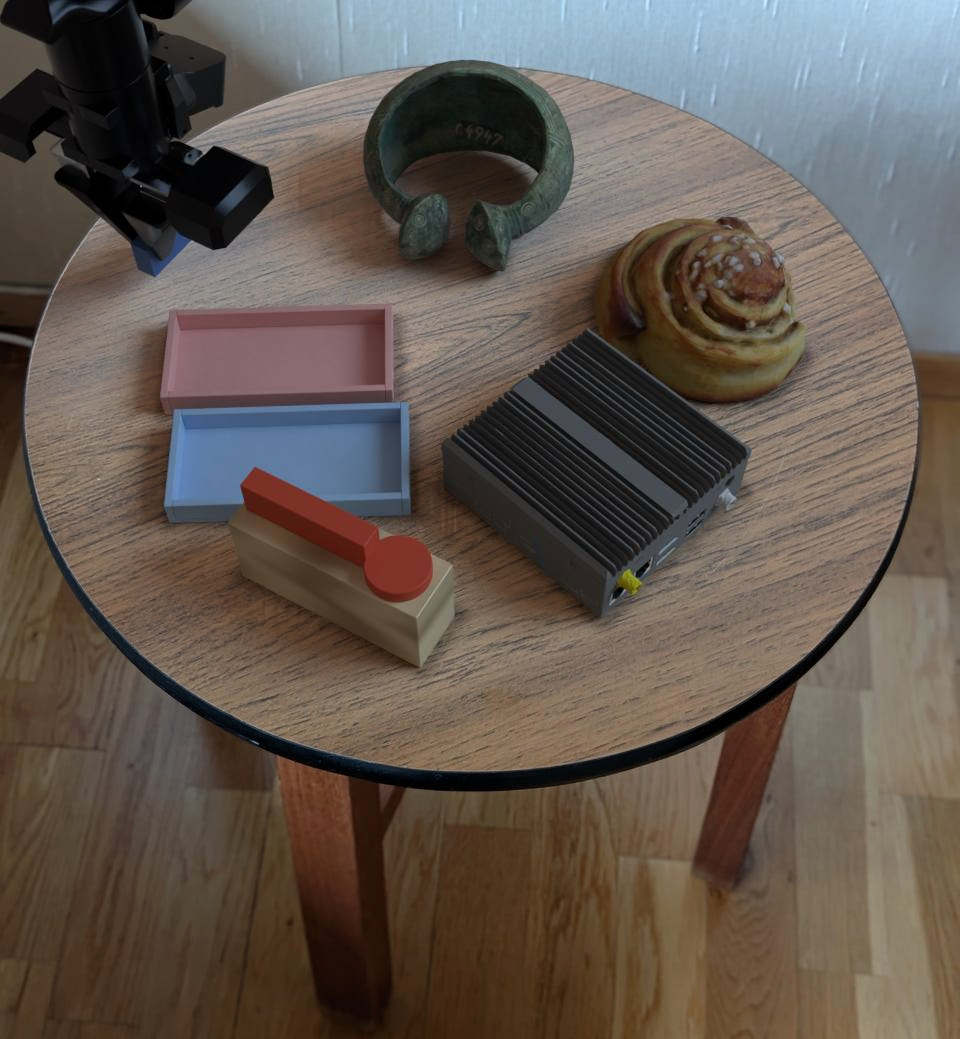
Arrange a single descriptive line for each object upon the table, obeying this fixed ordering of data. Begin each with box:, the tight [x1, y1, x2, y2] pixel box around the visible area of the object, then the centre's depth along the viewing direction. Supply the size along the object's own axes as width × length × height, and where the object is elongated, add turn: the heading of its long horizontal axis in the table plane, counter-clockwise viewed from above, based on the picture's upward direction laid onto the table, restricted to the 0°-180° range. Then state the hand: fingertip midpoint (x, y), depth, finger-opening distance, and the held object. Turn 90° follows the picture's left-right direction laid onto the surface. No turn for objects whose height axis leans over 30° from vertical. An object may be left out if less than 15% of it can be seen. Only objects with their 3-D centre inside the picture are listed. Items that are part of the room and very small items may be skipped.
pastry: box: [592, 216, 807, 404], centre depth 89 cm, size 13×15×8 cm
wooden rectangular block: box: [227, 503, 455, 668], centre depth 78 cm, size 13×4×6 cm, turn 60°
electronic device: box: [440, 327, 753, 619], centre depth 82 cm, size 13×15×5 cm
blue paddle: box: [129, 232, 192, 278], centre depth 93 cm, size 12×4×2 cm, turn 149°
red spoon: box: [240, 467, 433, 602], centre depth 74 cm, size 12×4×2 cm, turn 60°
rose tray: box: [159, 303, 395, 416], centre depth 89 cm, size 15×8×2 cm, turn 92°
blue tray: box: [163, 401, 412, 524], centre depth 84 cm, size 15×8×2 cm, turn 92°
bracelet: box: [362, 59, 575, 272], centre depth 94 cm, size 15×15×10 cm
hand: (155, 251), depth 91 cm, fingers closed on blue paddle, 1 cm apart
